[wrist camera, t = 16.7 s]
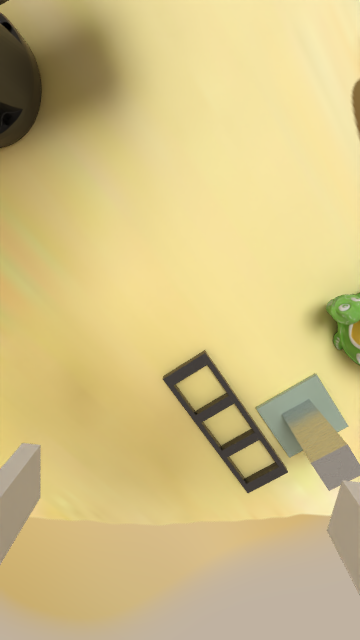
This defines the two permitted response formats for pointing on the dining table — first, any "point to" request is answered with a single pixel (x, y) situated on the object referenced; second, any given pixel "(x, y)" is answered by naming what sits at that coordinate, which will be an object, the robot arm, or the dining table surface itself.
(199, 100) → the dining table surface
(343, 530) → the robot arm
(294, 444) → the mat
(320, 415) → the gray rectangular brick
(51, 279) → the dining table surface
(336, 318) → the turtle holder
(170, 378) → the dark brown flat frame
